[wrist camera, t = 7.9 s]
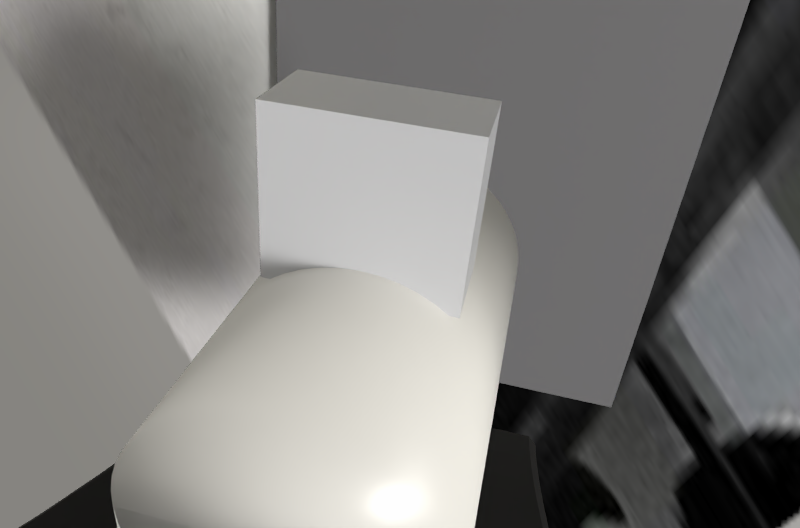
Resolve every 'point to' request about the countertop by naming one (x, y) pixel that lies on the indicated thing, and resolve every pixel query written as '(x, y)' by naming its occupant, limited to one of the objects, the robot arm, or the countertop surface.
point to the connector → (345, 327)
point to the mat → (554, 143)
